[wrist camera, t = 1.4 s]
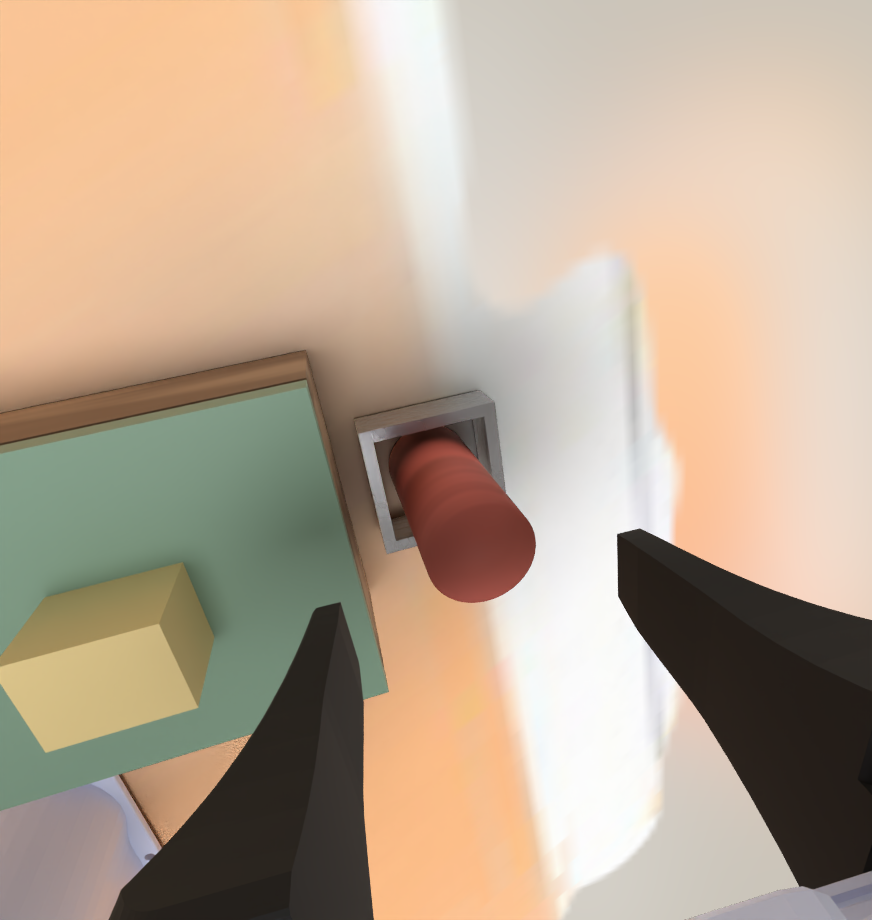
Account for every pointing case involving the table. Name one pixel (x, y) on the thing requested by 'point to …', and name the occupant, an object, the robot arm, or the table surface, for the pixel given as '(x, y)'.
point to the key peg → (460, 517)
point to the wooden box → (177, 395)
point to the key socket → (420, 419)
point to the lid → (163, 584)
